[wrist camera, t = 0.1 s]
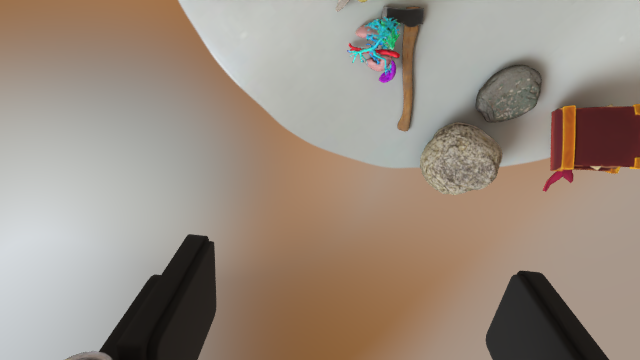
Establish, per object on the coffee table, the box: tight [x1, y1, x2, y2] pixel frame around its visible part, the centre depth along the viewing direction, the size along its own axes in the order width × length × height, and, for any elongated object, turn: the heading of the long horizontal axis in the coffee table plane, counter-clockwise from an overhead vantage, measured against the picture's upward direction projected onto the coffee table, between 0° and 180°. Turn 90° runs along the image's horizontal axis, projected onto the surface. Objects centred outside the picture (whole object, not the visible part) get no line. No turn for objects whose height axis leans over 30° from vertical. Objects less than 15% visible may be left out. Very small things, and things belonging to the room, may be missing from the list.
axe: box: [382, 6, 424, 131], centre depth 47 cm, size 16×1×5 cm
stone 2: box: [476, 65, 542, 122], centre depth 47 cm, size 7×8×2 cm
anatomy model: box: [347, 16, 400, 83], centre depth 43 cm, size 5×8×7 cm
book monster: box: [543, 104, 640, 191], centre depth 47 cm, size 11×9×12 cm
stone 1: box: [420, 122, 502, 195], centre depth 49 cm, size 6×10×10 cm
